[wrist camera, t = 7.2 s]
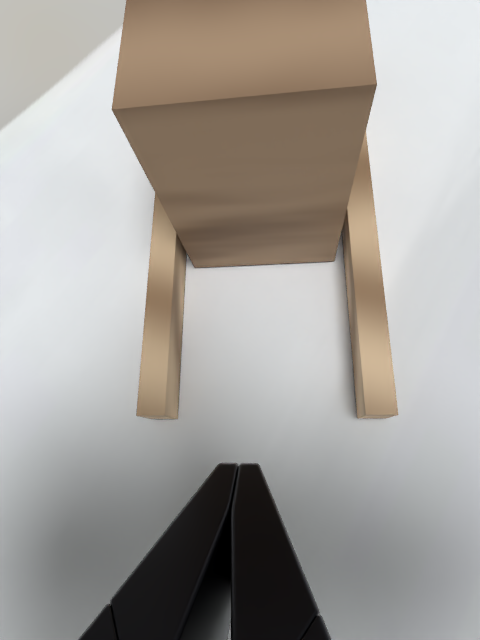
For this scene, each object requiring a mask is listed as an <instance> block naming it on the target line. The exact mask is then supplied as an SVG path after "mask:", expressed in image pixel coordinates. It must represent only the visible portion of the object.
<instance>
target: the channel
mask: <svg viewBox="0 0 480 640" xmlns="http://www.w3.org/2000/svg"><path fill="white" fill-rule="evenodd" d="M342 239H343V251H344V263H345V275H346V287H347V299H348V311H349V323H350V335H351V347H352V359H353V371H354V383H355V395H356V407H357V419H365V418H389V417H392V416H396V415H398V409H397V400H396V391H395V383H394V374H393V365H392V356H391V348H390V339H389V330H388V321H387V313H386V304H385V295H384V286H383V278H382V269H381V260H380V251H379V243H378V234H377V225H376V216H375V208H374V199H373V190H372V181H371V173H370V164H369V155H368V146H367V138H366V131H365V135H364V140H363V144H362V148H361V152H360V156H359V160H358V165H357V169H356V173H355V177H354V181H353V185H352V189H351V194H350V198H349V202H348V206H347V210H346V214H345V219H344V223H343V227H342ZM185 271H186V250H185V248H184V246H183V244H182V242H181V241H180V239H179V237H178V235H177V233H176V231H175V229H174V227H173V225H172V223H171V221H170V220H169V218H168V216H167V214H166V212H165V210H164V208H163V206H162V204H161V202H160V200H159V199H158V197H157V195H156V193H155V201H154V213H153V225H152V237H151V249H150V260H149V272H148V284H147V296H146V308H145V320H144V331H143V343H142V355H141V367H140V379H139V391H138V402H137V414H136V416H141V417H145V418H150V419H178V403H179V384H180V366H181V347H182V328H183V309H184V290H185Z"/></svg>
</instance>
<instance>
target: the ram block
mask: <svg viewBox="0 0 480 640" xmlns="http://www.w3.org/2000/svg"><path fill="white" fill-rule="evenodd" d="M376 86H377V82H376V74H375V66H374V59H373V51H372V43H371V36H370V28H369V20H368V13H367V5H366V0H127V1H126V8H125V15H124V22H123V30H122V37H121V45H120V52H119V60H118V67H117V74H116V82H115V89H114V97H113V104H112V111H113V113H114V115H115V116H116V118H117V120H118V122H119V124H120V126H121V128H122V130H123V132H124V134H125V136H126V137H127V139H128V141H129V143H130V145H131V147H132V149H133V151H134V153H135V155H136V157H137V158H138V160H139V162H140V164H141V166H142V168H143V170H144V172H145V174H146V176H147V178H148V179H149V181H150V183H151V185H152V187H153V189H154V191H155V193H156V195H157V197H158V199H159V200H160V202H161V204H162V206H163V208H164V210H165V212H166V214H167V216H168V218H169V220H170V221H171V223H172V225H173V227H174V229H175V231H176V233H177V235H178V237H179V239H180V241H181V242H182V244H183V246H184V248H185V250H186V252H187V254H188V256H189V258H190V260H191V262H192V263H193V265H194V267H195V268H198V267H219V266H241V265H262V264H284V263H305V262H327V261H334V260H335V256H336V252H337V248H338V244H339V239H340V235H341V231H342V227H343V223H344V219H345V214H346V210H347V206H348V202H349V198H350V194H351V189H352V185H353V181H354V177H355V173H356V169H357V165H358V160H359V156H360V152H361V148H362V144H363V140H364V135H365V131H366V127H367V123H368V119H369V115H370V110H371V106H372V102H373V98H374V94H375V90H376Z"/></svg>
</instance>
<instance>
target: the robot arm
mask: <svg viewBox="0 0 480 640" xmlns="http://www.w3.org/2000/svg"><path fill="white" fill-rule="evenodd" d="M110 603H111V605H110V604H107V605H106V606H105V607H104V608H103V610H102V611H101V612H100V614H99V615H98V616H97V617H96V619H95V620H94V621H93V622H92V624H91V625H90V626H89V627H88V628H87V630H86V631H85V632H84V633H83V634H82V636H81V637H80V638H79V639H78V640H227V639H228V633H229V627H230V621H231V640H331V637H330V635H329V633H328V630H327V628H326V625H325V623H324V620H323V618H322V616H320V612H319V609H318V606H317V604H316V602H315V599H314V597H313V594H312V592H311V589H310V587H309V585H308V582H307V580H306V577H305V575H304V572H303V570H302V567H301V565H300V563H299V560H298V558H297V555H296V553H295V550H294V548H293V546H292V543H291V541H290V538H289V536H288V533H287V531H286V528H285V526H284V524H283V521H282V519H281V516H280V514H279V511H278V509H277V507H276V504H275V502H274V499H273V497H272V494H271V492H270V489H269V487H268V485H267V482H266V480H265V477H264V475H263V472H262V470H261V468H260V466H259V464H257V463H241V464H240V465H238V464H237V463H220V464H218V465H217V467H216V468H215V469H214V470H213V472H212V473H211V474H210V475H209V477H208V478H207V479H206V480H205V482H204V483H203V484H202V485H201V487H200V488H199V489H198V491H197V492H196V493H195V494H194V496H193V497H192V498H191V499H190V501H189V502H188V503H187V504H186V506H185V507H184V508H183V509H182V511H181V512H180V513H179V514H178V516H177V517H176V518H175V519H174V521H173V522H172V523H171V525H170V526H169V527H168V528H167V530H166V531H165V532H164V533H163V535H162V536H161V537H160V538H159V540H158V541H157V542H156V543H155V545H154V546H153V547H152V548H151V550H150V551H149V552H148V553H147V555H146V556H145V557H144V558H143V560H142V561H141V562H140V564H139V565H138V566H137V567H136V569H135V570H134V571H133V572H132V574H131V575H130V576H129V577H128V579H127V580H126V581H125V582H124V584H123V585H122V586H121V587H120V589H119V590H118V591H117V592H116V594H115V595H114V596H113V597H112V599H111V600H110Z"/></svg>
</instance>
